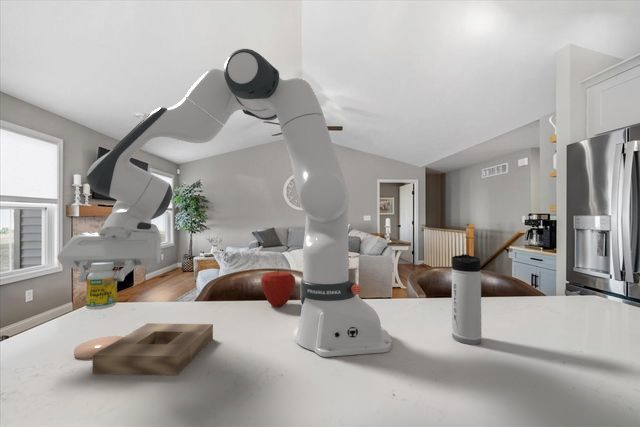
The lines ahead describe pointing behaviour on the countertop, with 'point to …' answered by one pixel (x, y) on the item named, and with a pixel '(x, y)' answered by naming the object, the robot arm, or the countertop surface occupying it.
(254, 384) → the countertop surface
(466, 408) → the countertop surface
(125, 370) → the frame
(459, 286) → the travel mug
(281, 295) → the red tapered strawberry shape
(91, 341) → the peach round disc
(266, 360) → the countertop surface
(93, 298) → the supplement bottle
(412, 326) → the countertop surface
